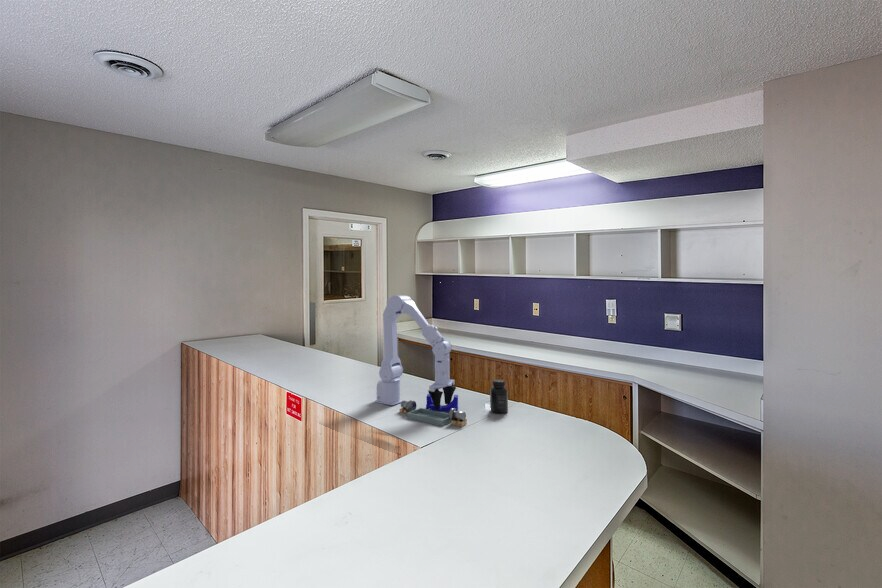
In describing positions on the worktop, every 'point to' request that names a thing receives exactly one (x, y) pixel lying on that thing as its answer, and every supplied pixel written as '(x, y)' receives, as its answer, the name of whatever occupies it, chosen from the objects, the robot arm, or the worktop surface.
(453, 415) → the shaft
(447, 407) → the blue bearing cap
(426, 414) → the grey-blue rectangular tray
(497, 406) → the supplement bottle
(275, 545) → the worktop surface
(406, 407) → the shaft
